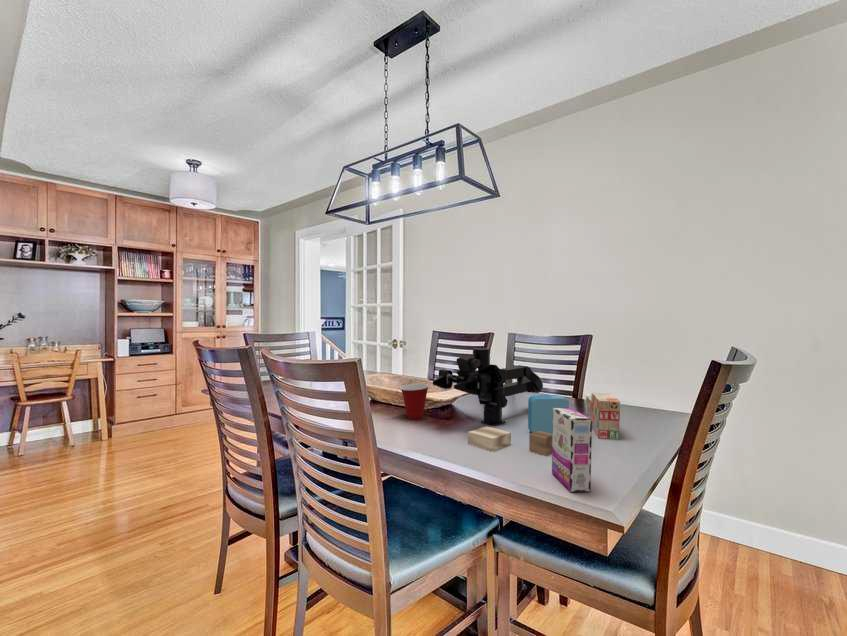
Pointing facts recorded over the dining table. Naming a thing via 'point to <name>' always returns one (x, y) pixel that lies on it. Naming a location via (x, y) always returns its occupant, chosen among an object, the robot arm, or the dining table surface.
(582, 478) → the candy bar box
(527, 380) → the robot arm
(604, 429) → the stack of blocks
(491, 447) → the maple base block
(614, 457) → the dining table surface
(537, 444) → the walnut cube
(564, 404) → the blue flat block
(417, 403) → the plastic cup
